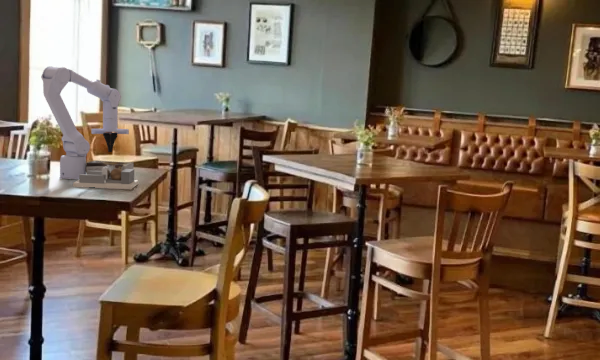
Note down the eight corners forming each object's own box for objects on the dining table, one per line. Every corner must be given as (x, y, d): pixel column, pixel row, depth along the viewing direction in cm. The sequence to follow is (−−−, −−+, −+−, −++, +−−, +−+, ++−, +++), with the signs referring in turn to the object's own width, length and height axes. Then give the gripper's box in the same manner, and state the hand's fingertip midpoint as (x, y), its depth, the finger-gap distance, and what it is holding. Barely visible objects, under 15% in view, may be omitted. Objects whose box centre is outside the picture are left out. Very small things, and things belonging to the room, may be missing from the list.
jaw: (101, 179, 278) (101, 168, 278) (107, 175, 286) (107, 165, 286) (107, 179, 278) (107, 168, 278) (113, 176, 286) (113, 165, 286)
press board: (73, 186, 277) (73, 170, 276) (83, 181, 289) (83, 166, 288) (130, 189, 277) (130, 173, 276) (138, 184, 289) (138, 168, 288)
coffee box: (125, 165, 292) (85, 162, 294) (125, 181, 294) (85, 179, 296) (133, 162, 301) (94, 159, 303) (133, 178, 302) (94, 175, 304)
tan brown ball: (108, 182, 280) (108, 168, 279) (111, 180, 285) (112, 166, 284) (122, 183, 280) (122, 169, 279) (125, 181, 285) (125, 167, 284)
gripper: (92, 118, 299) (92, 153, 301) (129, 119, 304) (129, 153, 306) (91, 117, 306) (91, 150, 308) (127, 117, 310) (127, 150, 312)
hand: (110, 151), depth 307 cm, fingers closed
